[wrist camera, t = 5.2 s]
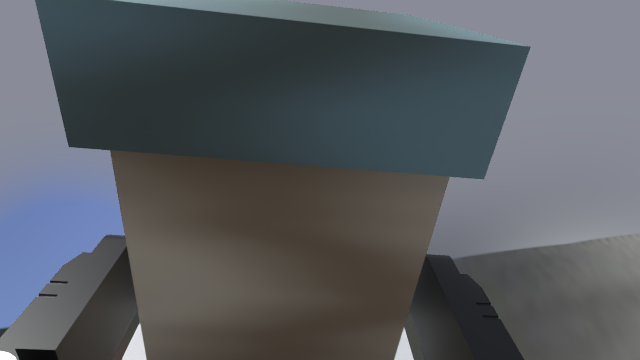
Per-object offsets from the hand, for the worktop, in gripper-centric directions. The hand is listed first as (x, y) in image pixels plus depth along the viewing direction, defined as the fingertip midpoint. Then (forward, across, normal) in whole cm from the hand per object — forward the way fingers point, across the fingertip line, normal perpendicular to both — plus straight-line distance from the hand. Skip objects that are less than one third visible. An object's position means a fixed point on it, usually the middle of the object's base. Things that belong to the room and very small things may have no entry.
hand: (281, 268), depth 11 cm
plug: (-2, 0, +10) cm, 10 cm away
